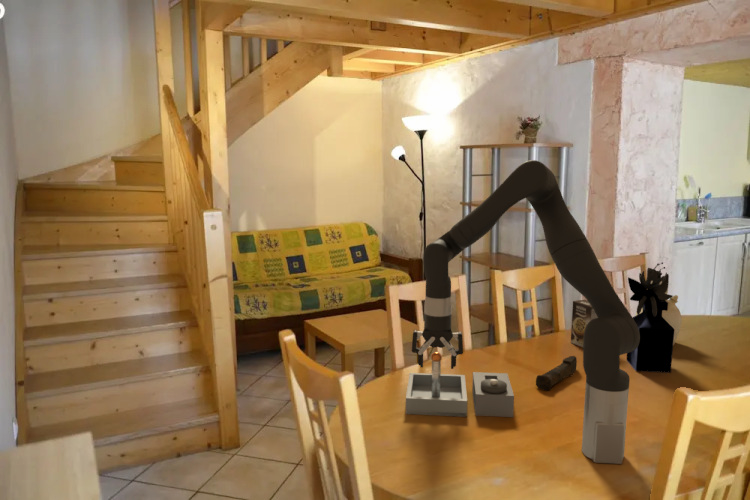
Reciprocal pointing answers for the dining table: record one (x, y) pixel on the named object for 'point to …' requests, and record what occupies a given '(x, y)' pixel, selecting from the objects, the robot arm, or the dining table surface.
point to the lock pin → (436, 374)
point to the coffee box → (581, 320)
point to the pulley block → (492, 394)
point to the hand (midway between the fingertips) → (437, 367)
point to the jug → (672, 315)
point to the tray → (446, 405)
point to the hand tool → (557, 373)
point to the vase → (652, 323)
